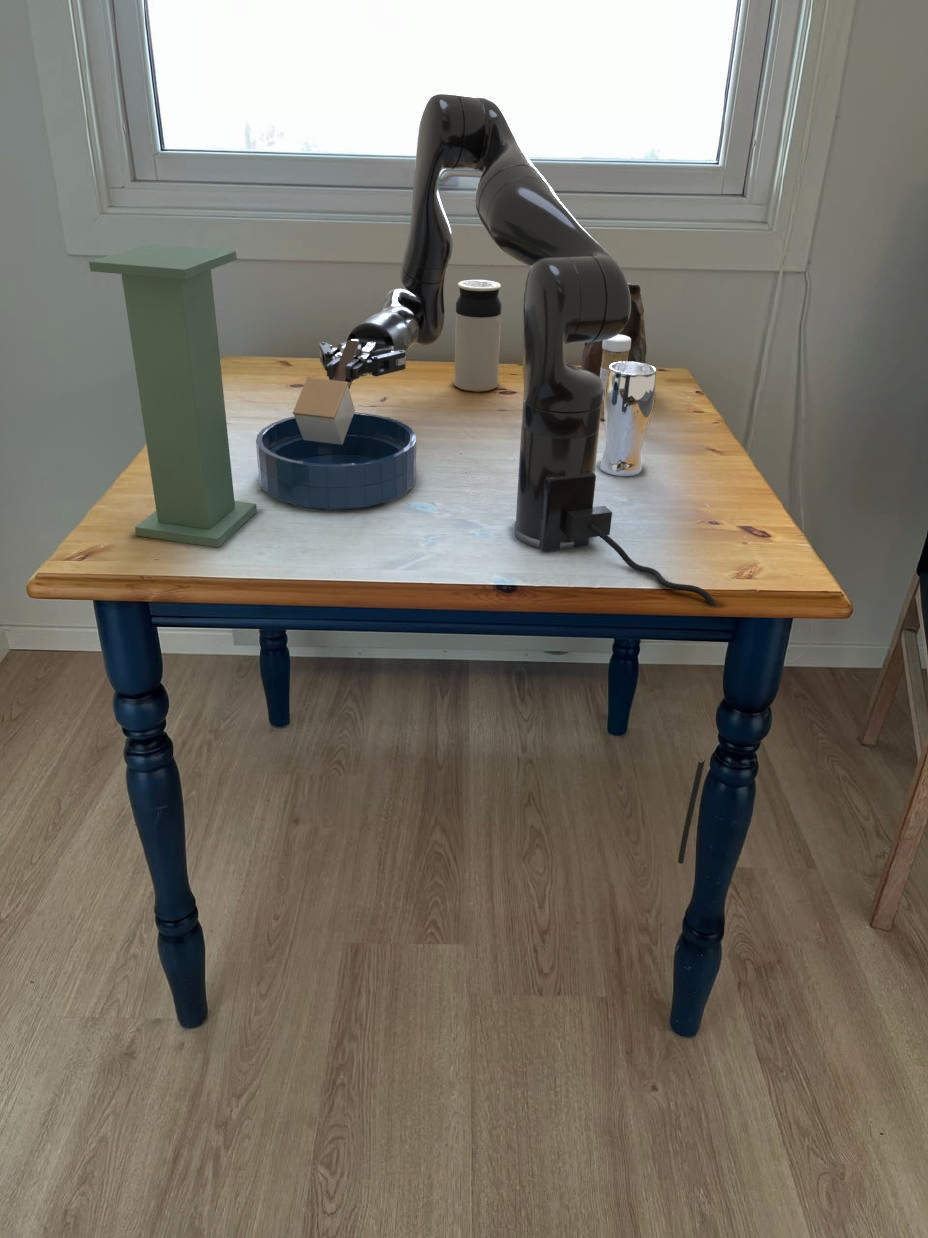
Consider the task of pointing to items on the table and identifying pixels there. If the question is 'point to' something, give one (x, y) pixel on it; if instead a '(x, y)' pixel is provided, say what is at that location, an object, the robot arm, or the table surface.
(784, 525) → the table surface
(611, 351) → the sprinkles bottle
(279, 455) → the bowl
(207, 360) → the stand
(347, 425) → the mallet with brown handle
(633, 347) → the owl
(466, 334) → the travel mug
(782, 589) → the table surface
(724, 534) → the table surface
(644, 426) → the beer glass
